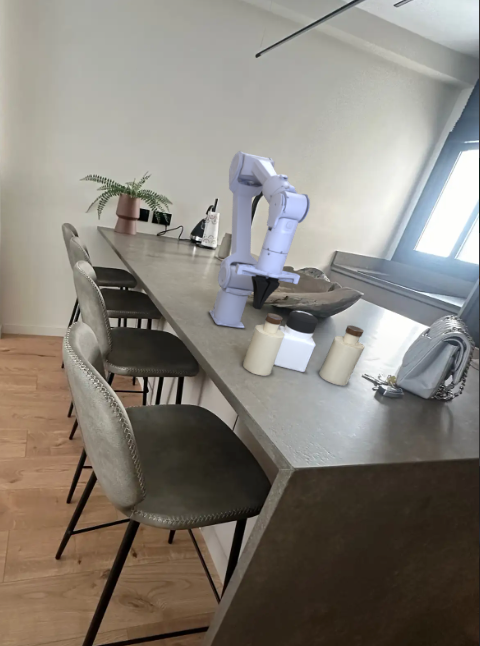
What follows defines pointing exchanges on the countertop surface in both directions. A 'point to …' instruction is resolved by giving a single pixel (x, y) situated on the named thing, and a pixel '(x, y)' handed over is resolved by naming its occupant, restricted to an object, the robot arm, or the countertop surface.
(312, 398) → the countertop surface
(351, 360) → the cream bottle far
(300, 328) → the medicine bottle
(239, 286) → the robot arm
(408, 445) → the countertop surface
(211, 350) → the countertop surface
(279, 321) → the cream bottle near
